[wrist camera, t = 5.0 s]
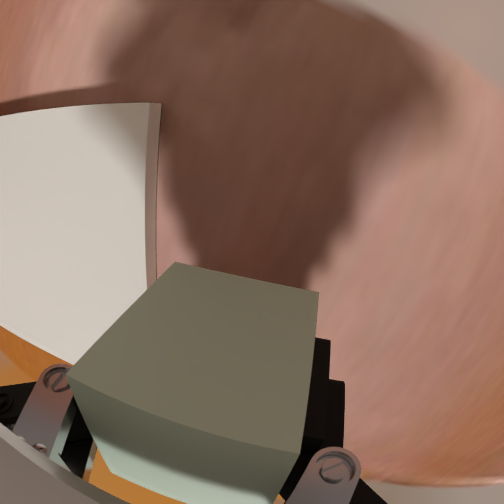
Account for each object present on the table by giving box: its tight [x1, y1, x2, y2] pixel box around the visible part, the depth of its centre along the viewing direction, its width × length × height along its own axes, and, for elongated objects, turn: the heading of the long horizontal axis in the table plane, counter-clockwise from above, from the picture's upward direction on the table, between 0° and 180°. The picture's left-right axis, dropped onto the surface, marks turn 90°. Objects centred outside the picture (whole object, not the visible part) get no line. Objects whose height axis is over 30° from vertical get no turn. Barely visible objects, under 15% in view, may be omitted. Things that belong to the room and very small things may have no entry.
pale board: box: [0, 103, 162, 365], centre depth 15 cm, size 16×16×1 cm
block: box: [65, 262, 319, 504], centre depth 9 cm, size 5×5×6 cm
